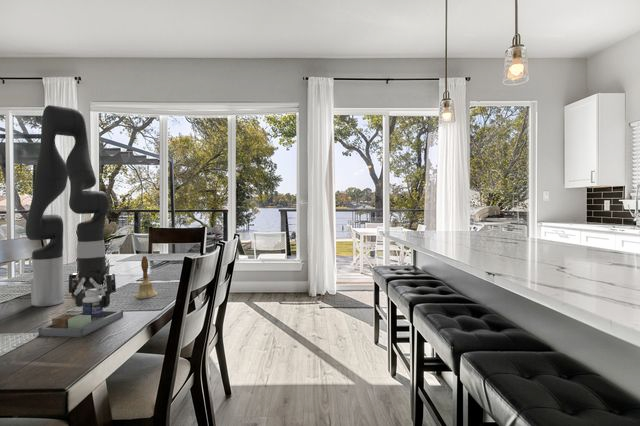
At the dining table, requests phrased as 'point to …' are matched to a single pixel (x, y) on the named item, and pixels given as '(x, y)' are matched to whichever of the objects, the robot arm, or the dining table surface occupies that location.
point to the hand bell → (145, 282)
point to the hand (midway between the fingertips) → (92, 306)
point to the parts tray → (70, 332)
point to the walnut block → (61, 321)
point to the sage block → (79, 321)
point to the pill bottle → (93, 305)
